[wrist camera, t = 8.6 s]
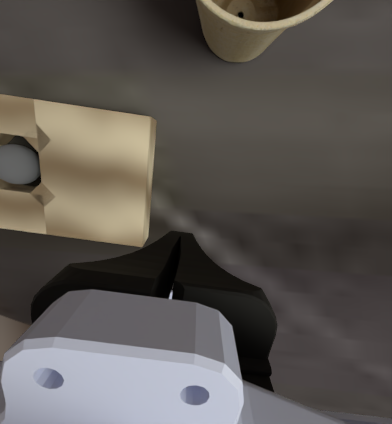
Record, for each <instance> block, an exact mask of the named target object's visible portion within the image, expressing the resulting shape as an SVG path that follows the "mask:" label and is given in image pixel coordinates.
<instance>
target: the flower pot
mask: <svg viewBox="0 0 392 424" xmlns="http://www.w3.org/2000/svg"><path fill="white" fill-rule="evenodd" d="M332 1H333V0H196V4H197V8H198V12H199V16H200V21H201V26H202V31H203V35H204V37H205V40H206V42H207V44H208V46H209V47H210V49H211V50H212V51H213V52H214V53H215V54H216V55H217V56H218V57H220V58H221V59H223V60H225V61H228V62H246V61H249V60H252V59H254V58H255V57H257V56H258V55H260V54H261V53H262V52H263V51H264V50H265V49H266V48H267V47H268V46H269V45H270V44H271V43H272V42H273V41H274V40H275V39H276V38H277V37H278V36H279V35H280V34H281V33H282V32H283V31H284V30H285V29H286V28H289V27H292V26H295V25H297V24H299V23H301V22H303V21H305V20H307V19H309V18H311V17H312V16H314V15H315V14H317V13H318V12H320V11H321V10H322V9H324V8H325V7H326V6H327V5H328V4H330V3H331V2H332ZM240 12H241V13H243V18H239V17H238V13H240Z"/></svg>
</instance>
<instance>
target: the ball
mask: <svg viewBox="0 0 392 424" xmlns="http://www.w3.org/2000/svg"><path fill="white" fill-rule="evenodd" d="M40 175H41V171H40V161H39V157H38V155H37V154H36V153H35V152H34V151H32V150H31V149H29V148H27V147H25V146H22V145H18V144H6V145H2V146H0V179H2V180H4V181H6V182H9V183H12V184H28V183H31V182H33V181H35V180H36V179H37V178H38V177H39V176H40Z"/></svg>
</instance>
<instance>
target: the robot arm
mask: <svg viewBox="0 0 392 424" xmlns="http://www.w3.org/2000/svg"><path fill="white" fill-rule="evenodd" d="M173 283H174V285H173ZM172 287H173V290H172ZM31 319H32V325H31V326H30V327H29V328H28V329H27V330H26V331H25V332H24V333H23V335H22V336H21V337H20V338H19V339H18V340H17V341H16V342H15V343H14V344H13V345H12V346H11V347H10V348H9V349H8V350H7V351H6V352H5V354H4V358H3V361H0V424H392V418H384V417H375V416H366V415H358V414H349V413H340V412H332V411H323V410H316V409H313V408H311V407H308V406H306V405H304V404H301V403H299V402H296V401H294V400H291V399H289V398H286V397H284V396H281V395H279V394H276V393H274V390H273V387H272V384H271V381H270V377H269V376H271V373H272V371H271V366H270V363H269V360H268V356H269V353H270V350H271V347H272V344H273V341H274V339H275V336H276V331H277V321H276V316H275V314H274V312H273V310H272V307H271V305H270V303H269V301H268V299H267V297H266V295H265V294H264V292H263V290H262V289H261V288H259V287H257V286H254V285H252V284H249V283H247V282H245V281H242V280H240V279H239V278H237V277H235V276H233V275H231V274H230V273H228V272H226V271H225V270H224V269H222V268H221V267H219V266H218V265H217V264H215V263H214V262H213V261H212V260H211V259H210V258H209V257H208V256H207V255H206V254H205V253H204V251H203V250H202V249H201V247H200V246H199V244H198V243H197V241H196V239H195V237H194V235H193V234H192V233H184V232H177V231H170V232H169V233H167V234H166V235H165V236H163V237H162V238H160V239H159V240H157V241H156V242H154V243H152V244H150V245H149V246H147V247H145V248H143V249H140V250H138V251H136V252H133V253H130V254H126V255H123V256H120V257H116V258H111V259H106V260H101V261H94V262H84V263H73V264H69V265H68V266H66V267H65V268H64V269H63V270H62V271H61V272H59V273H58V274H57V275H56V276H55V277H54V278H53V279H51V280H50V281H49V282H48V283H47V284H46V285H45V286H44V287H42V288H41V289H40V290H39V292H38V293H37V294H36V295H35V296H34V299H33V301H32V304H31Z"/></svg>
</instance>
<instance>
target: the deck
mask: <svg viewBox="0 0 392 424" xmlns="http://www.w3.org/2000/svg"><path fill="white" fill-rule="evenodd" d="M156 123H157V121H156V120H155V119H153V118H152V117H149V116H142V115H135V114H129V113H122V112H116V111H109V110H102V109H96V108H89V107H82V106H76V105H69V104H62V103H56V102H49V101H42V100H36V99H29V98H22V97H16V96H9V95H2V94H0V146H2V145H6V144H8V143H9V142H10V141H11V140H12V139H13V137H14V136H15V135H18V136H23V137H24V138H25V139H26V140H27V141H28V142H29V143H30V144H31V145H32V146H33V147H34V148H35V149H36V150H37V152H38V153H39V161H40V171H41V183H40V184H39V185H38V186H37V187H35V186H27V185H23V184H12V183H9V182H6V181H4V180H2V179H0V228H4V229H11V230H18V231H26V232H33V233H41V234H48V235H56V236H63V237H71V238H78V239H86V240H93V241H101V242H108V243H116V244H123V245H131V246H138V247H143V245H144V243H145V241H146V240H147V238H148V232H149V218H150V205H151V191H152V177H153V164H154V150H155V136H156Z"/></svg>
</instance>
